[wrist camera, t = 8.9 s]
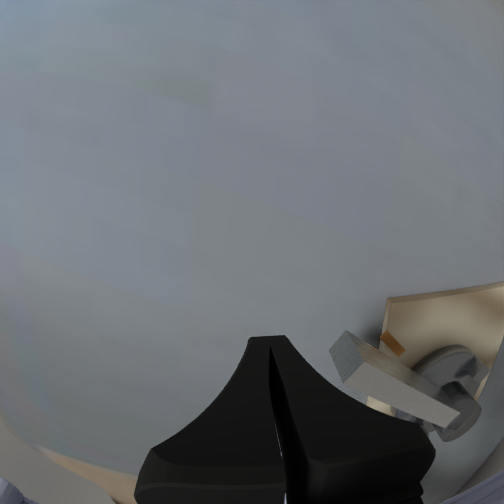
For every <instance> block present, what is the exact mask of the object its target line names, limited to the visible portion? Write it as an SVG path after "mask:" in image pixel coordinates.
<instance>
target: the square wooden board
mask: <svg viewBox="0 0 504 504" xmlns="http://www.w3.org/2000/svg"><path fill="white" fill-rule="evenodd" d="M503 336H504V282H499V283H494V284H488V285H482V286H475V287H469V288H462V289H456V290H449V291H441V292H434V293H426V294H418V295H410V296H402V297H393V298H387V302H386V309H385V316H384V322H383V328H382V334H381V336H380V337H379V338H380V345H379V350H380V351H381V352H383V353H385V354H386V355H388V356H389V357H391V358H393V359H394V360H396V361H398V362H399V363H401V364H403V365H404V366H406V367H408V368H409V369H412V368H413V367H414V366H415V365H416V364H417V363H418V362H420V361H421V360H422V359H424V358H425V357H426V356H428V355H429V354H431V353H433V352H434V351H436V350H438V349H440V348H443V347H446V346H449V345H463V346H465V347H467V348H468V349H469V350H470V351H471V352H472V353H473V354H475V355H476V356H477V357H478V358H479V359H480V360H481V361H482V362H483V363H484V364H485V365H486V366H487V367H488V368H489V369H490V371H491V369H492V366H493V364H494V361H495V358H496V356H497V353H498V350H499V348H500V345H501V342H502V339H503ZM489 374H490V372H489V373H488V374H487V375H486V377H485V378H484V379H483V380H482V381H481V384H480V386H479V388H478V390H477V392H476V394H475V396H474V397H473V398H474V400H475V401H476V402H477V400H478V398H479V396H480V394H481V392H482V390H483V387H484V385H485V383H486V381H487V378H488V376H489ZM366 406H369V407H371V408H373V409H375V410H378V411H380V412H382V413H385V414H387V415H390V416H393V415H392V413H391V406H390V405H388V404H385V403H383V402H381V401H379V400H376V399H374V398H372V397H370V396H368V399H367V403H366Z"/></svg>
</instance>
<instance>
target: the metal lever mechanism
mask: <svg viewBox="0 0 504 504" xmlns="http://www.w3.org/2000/svg"><path fill="white" fill-rule="evenodd" d="M329 352H330V355H331V357H332V359H333V362H334V364H335V366H336V369H337V371H338V373H339V376H340V378H341V380H342V383H343V384H344V385H346V386H348V387H350V388H353V389H355V390H357V391H359V392H361V393H363V394H365V395H368V396H370V397H372V398H374V399H376V400H379V401H381V402H383V403H385V404H388V405H390V406H391V413H392V415H393V417H396V418H400V419H403V420H407V421H410V422H414V423H417V424H419V425H420V426H421V428H422V429H423V431H424V432H425V433H426V435H427V436H429V434H428V433H430V432H432V431H435V430H436V431H437V433H438V435H439V436H440V438H441V439H442V441H444V442H449V441H452V440H455V439H457V438H459V437H460V436H462V435H463V434H464V433H466V432H467V431H468V430H469V429H470V428H471V427H472V426H473V425H474V424H475V422H476V421H477V420H478V418H479V416H480V414H481V407H480V406H479V404H478V403H477V402H476V401H475V400H474V398H473V397H474V396H475V394H476V392H477V390H478V388H479V386H480V384H481V381H482V380H483V379H484V378H485V377H486V375H487V374H488V373H489V372H490V369H489V368H488V367H487V366H486V365H485V364H484V363H483V362H482V361H481V360H480V359H479V358H478V357H477V356H476V355H475V354H473V353H472V352H471V351H470V350H469V349H468V348H467V347H465V346H463V345H449V346H446V347H443V348H440V349H438V350H436V351H434V352H433V353H431V354H429V355H428V356H426V357H425V358H424V359H422V360H421V361H420V362H418V363H417V364H416V365H415V366H414V367H413V368H412V369H409V368H408V367H406V366H404V365H403V364H401V363H399V362H398V361H396V360H394V359H393V358H391V357H389V356H388V355H386V354H385V353H383V352H381V351H380V350H378V349H376V348H375V347H373V346H371V345H370V344H368V343H367V342H365V341H363V340H362V339H360V338H358V337H357V336H355V335H354V334H352V333H350V332H349V331H347V330H346V331H345V332H344V333H343V334H342V335H341V336H340V337H339V339H338V340H337V341H336V342H335V343H334V344H333V345H332V347H331V348H330V349H329Z"/></svg>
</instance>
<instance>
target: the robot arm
mask: <svg viewBox="0 0 504 504" xmlns="http://www.w3.org/2000/svg"><path fill="white" fill-rule="evenodd" d="M275 425H276V427H275ZM276 430H277V432H276ZM277 434H278V437H277ZM278 439H279V442H278ZM279 443H280V447H279ZM280 448H281V451H280ZM435 453H436V450H435V448H434V447H433V445H432V443H431V441H430V440H429V438H428V436H427V435H426V433H425V432H424V431H423V429H422V428H421V426H420V425H419V424H417V423H414V422H410V421H407V420H403V419H400V418H396V417H393V416H390V415H387V414H385V413H382V412H380V411H378V410H375V409H373V408H371V407H369V406H366V405H364V404H362V403H361V402H359V401H357V400H355V399H353V398H352V397H350V396H348V395H347V394H345V393H343V392H342V391H340V390H339V389H338V388H336V387H335V386H333V385H332V384H331V383H329V382H328V381H327V380H326V379H325V378H323V377H322V376H321V375H320V374H319V373H318V372H317V371H316V370H315V369H314V368H313V367H312V366H311V365H310V364H309V363H308V362H307V361H306V360H305V359H304V358H303V357H302V356H301V355H300V353H299V352H298V351H297V350H296V349H295V347H294V346H293V345H292V343H291V342H290V341H289V339H288V338H287V337H286V336H285V335H279V336H262V337H251V338H249V339H248V343H247V347H246V350H245V352H244V355H243V357H242V359H241V361H240V363H239V365H238V367H237V369H236V370H235V372H234V374H233V375H232V377H231V378H230V380H229V382H228V383H227V385H226V386H225V387H224V389H223V390H222V391H221V393H220V394H219V395H218V396H217V397H216V399H215V400H214V401H213V402H212V403H211V404H210V405H209V406H208V407H207V408H206V409H205V410H204V411H203V412H202V413H201V414H200V415H199V416H198V417H197V418H196V419H195V420H193V421H192V422H191V423H190V424H188V425H187V426H186V427H185V428H183V429H182V430H181V431H179V432H178V433H177V434H175V435H174V436H172V437H170V438H169V439H167V440H165V441H164V442H162V443H160V444H159V445H157V446H155V447H153V448H151V450H150V451H149V453H148V455H147V457H146V459H145V461H144V463H143V465H142V467H141V470H140V473H139V476H138V480H137V484H136V488H135V492H134V498H135V500H136V502H137V503H138V504H424V503H423V501H422V499H421V497H420V496H421V495H422V494H423V488H422V486H421V484H420V481H421V480H422V478H423V477H424V476H425V474H426V473H427V471H428V470H429V468H430V466H431V465H432V463H433V460H434V458H435ZM0 504H39V503H37V502H35V501H33V500H30V499H28V498H26V497H24V496H23V494H22V493H21V492H20V491H19V490H18V489H17V488H16V487H15V486H14V485H13V484H11V483H10V482H9V481H7V480H6V479H4V478H2V477H0ZM439 504H504V469H503V470H501V471H500V472H498V473H496V474H495V475H493V476H492V477H490V478H488V479H487V480H485V481H483V482H481V483H479V484H478V485H476V486H474V487H472V488H470V489H468V490H466V491H464V492H462V493H460V494H458V495H456V496H454V497H452V498H450V499H448V500H446V501H443V502H441V503H439Z"/></svg>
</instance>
